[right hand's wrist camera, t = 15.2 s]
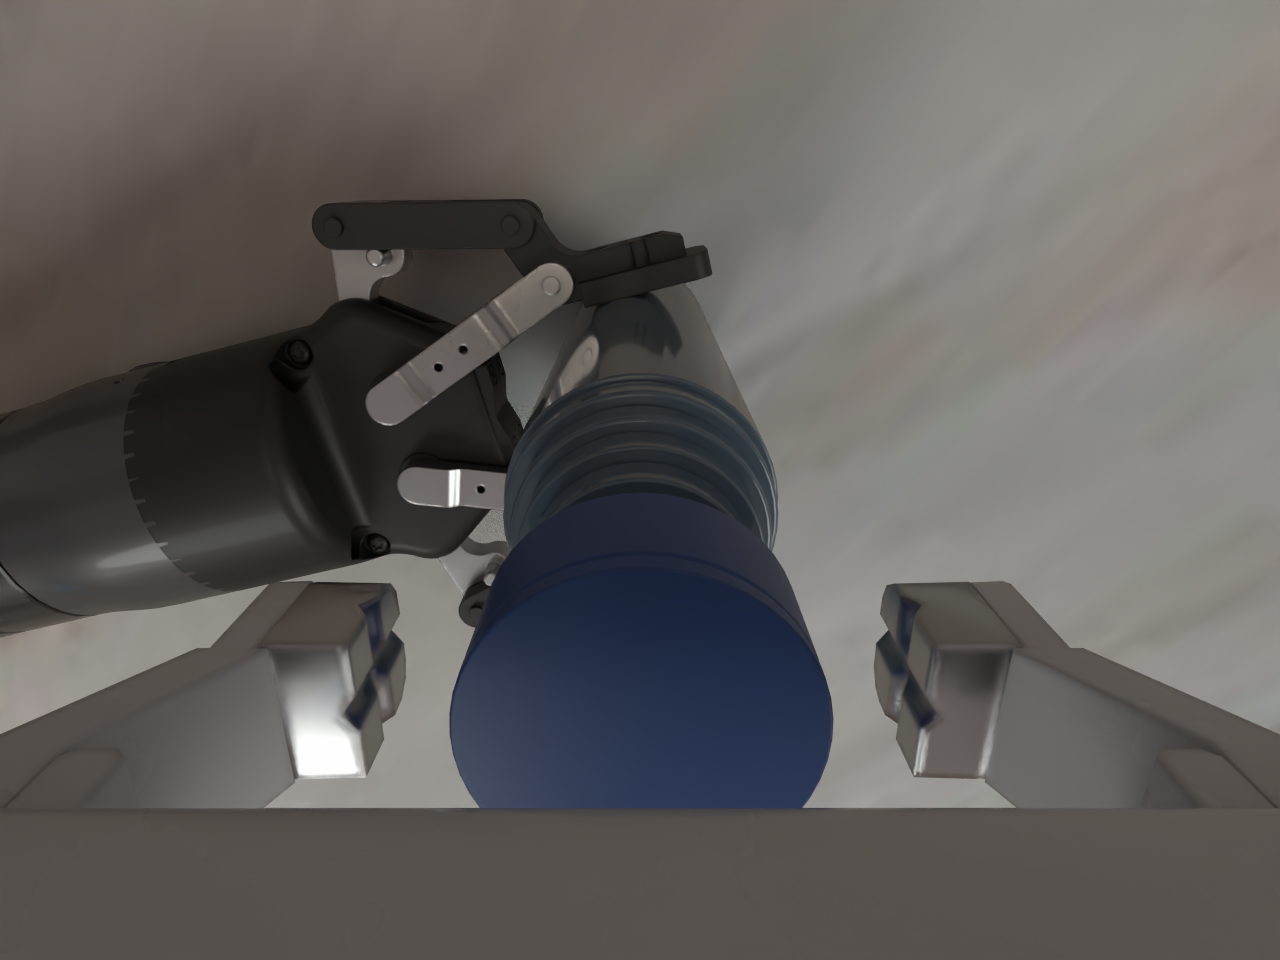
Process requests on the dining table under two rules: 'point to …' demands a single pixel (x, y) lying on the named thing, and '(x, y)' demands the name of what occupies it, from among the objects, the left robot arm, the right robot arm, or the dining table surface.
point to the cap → (641, 668)
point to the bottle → (641, 420)
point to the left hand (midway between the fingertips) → (724, 352)
